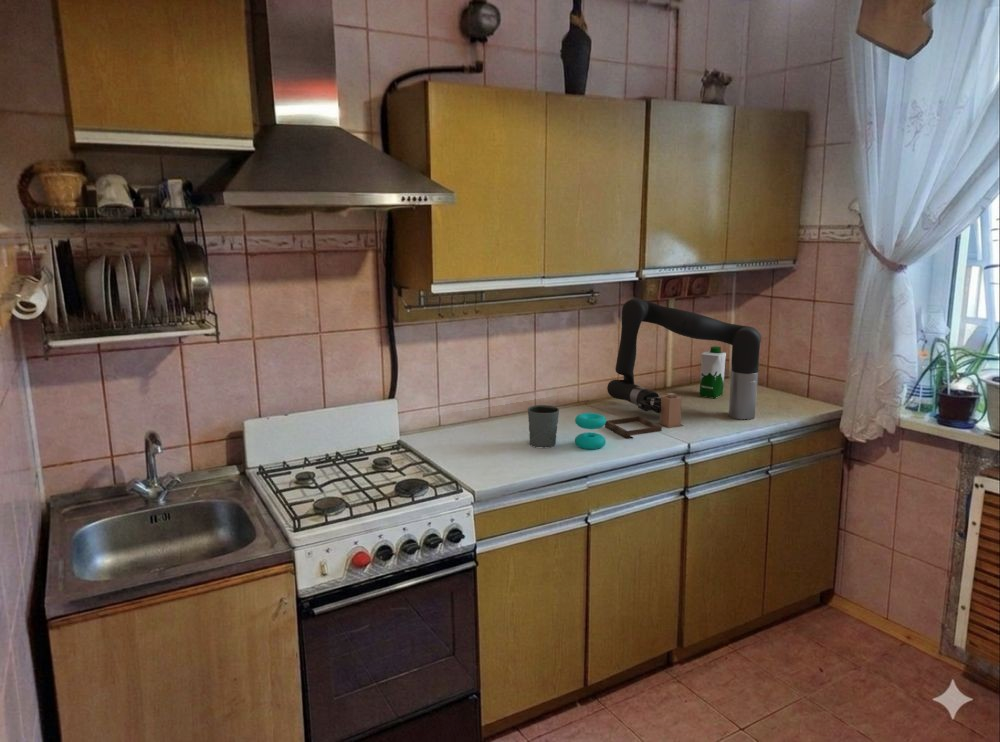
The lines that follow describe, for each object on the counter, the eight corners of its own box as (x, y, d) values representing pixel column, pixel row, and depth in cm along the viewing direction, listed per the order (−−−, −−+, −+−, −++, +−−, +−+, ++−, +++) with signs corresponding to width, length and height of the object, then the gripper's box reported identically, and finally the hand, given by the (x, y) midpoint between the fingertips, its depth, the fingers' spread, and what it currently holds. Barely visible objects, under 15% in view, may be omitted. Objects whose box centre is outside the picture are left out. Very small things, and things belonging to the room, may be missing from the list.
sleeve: (660, 423, 247) (661, 396, 245) (671, 421, 249) (673, 394, 247) (668, 427, 243) (669, 399, 240) (680, 425, 244) (681, 397, 242)
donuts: (611, 418, 222) (584, 421, 219) (611, 448, 225) (583, 452, 221) (596, 410, 231) (569, 413, 228) (596, 439, 234) (569, 442, 230)
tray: (604, 427, 246) (605, 420, 246) (638, 422, 251) (638, 416, 251) (626, 438, 233) (626, 432, 233) (661, 433, 239) (661, 427, 238)
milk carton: (725, 395, 288) (728, 347, 284) (716, 399, 281) (719, 351, 277) (705, 391, 294) (708, 345, 289) (696, 396, 287) (698, 348, 282)
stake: (655, 425, 248) (657, 392, 245) (672, 423, 250) (673, 390, 248) (667, 431, 242) (669, 397, 239) (684, 428, 244) (686, 395, 242)
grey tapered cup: (522, 442, 231) (521, 407, 228) (546, 437, 236) (546, 403, 233) (539, 450, 222) (540, 414, 220) (564, 445, 228) (565, 409, 225)
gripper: (628, 390, 256) (653, 400, 241) (660, 386, 261) (687, 396, 247) (627, 410, 258) (652, 421, 243) (660, 405, 263) (686, 416, 248)
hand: (670, 409), depth 245 cm, fingers open, 8 cm apart
